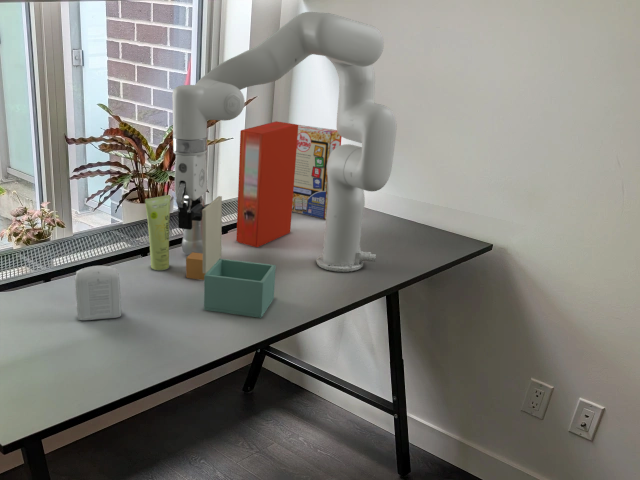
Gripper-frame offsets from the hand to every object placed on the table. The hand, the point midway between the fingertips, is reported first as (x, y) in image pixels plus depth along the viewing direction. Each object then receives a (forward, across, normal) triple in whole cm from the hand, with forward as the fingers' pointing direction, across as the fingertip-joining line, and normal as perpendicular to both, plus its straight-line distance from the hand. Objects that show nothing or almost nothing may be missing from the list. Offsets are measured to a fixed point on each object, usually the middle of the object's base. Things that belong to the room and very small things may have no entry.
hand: (190, 223), depth 171 cm
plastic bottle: (+19, +30, +10) cm, 37 cm away
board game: (+19, +81, -12) cm, 84 cm away
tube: (+19, +17, +15) cm, 29 cm away
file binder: (+19, +51, -6) cm, 55 cm away
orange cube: (+19, +14, +3) cm, 24 cm away
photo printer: (+19, -18, +16) cm, 31 cm away
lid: (+2, 0, -6) cm, 6 cm away
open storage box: (+19, 0, -13) cm, 23 cm away
